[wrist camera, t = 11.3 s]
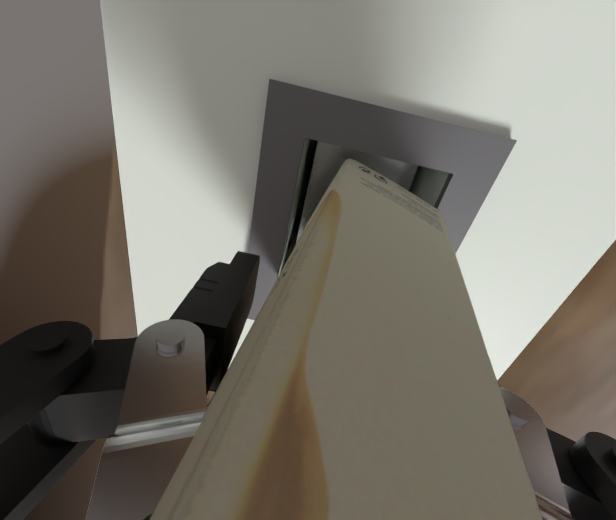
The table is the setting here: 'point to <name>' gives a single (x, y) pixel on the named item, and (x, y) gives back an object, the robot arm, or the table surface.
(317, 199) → the grey switch rocker
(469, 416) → the skincare box
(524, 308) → the white block with opening
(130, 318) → the table surface
